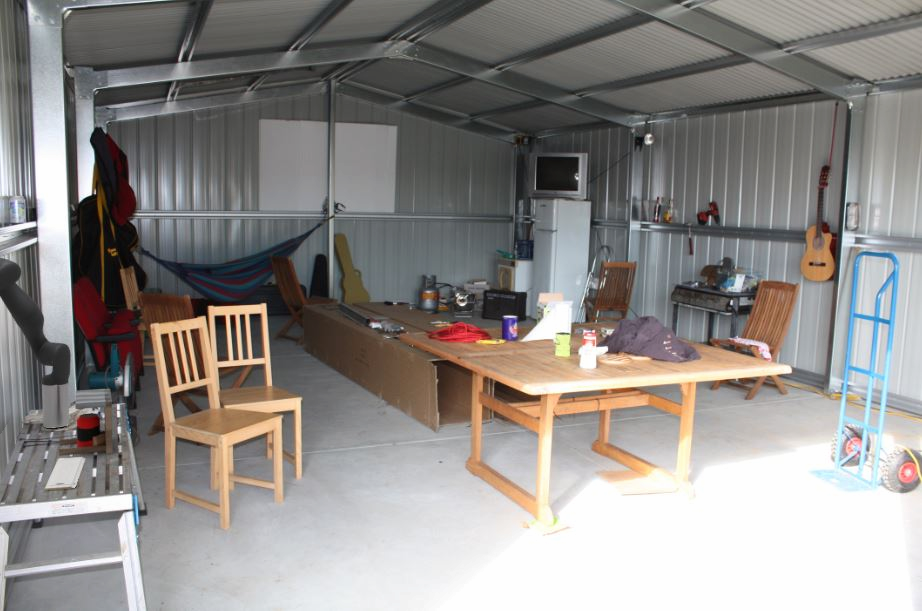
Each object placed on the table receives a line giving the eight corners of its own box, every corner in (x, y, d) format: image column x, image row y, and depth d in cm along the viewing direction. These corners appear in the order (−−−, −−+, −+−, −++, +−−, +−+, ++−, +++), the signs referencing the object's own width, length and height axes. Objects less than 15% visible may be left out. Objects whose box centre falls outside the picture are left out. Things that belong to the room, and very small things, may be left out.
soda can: (93, 443, 288) (92, 411, 286) (104, 447, 284) (104, 415, 282) (73, 447, 282) (72, 415, 280) (84, 452, 277) (83, 419, 276)
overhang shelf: (112, 453, 277) (111, 401, 275) (58, 458, 270) (57, 404, 268) (110, 437, 295) (109, 388, 293) (60, 442, 288) (59, 391, 286)
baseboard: (90, 460, 271) (58, 462, 268) (90, 452, 271) (57, 454, 267) (80, 490, 243) (44, 493, 239) (80, 481, 242) (44, 484, 239)
